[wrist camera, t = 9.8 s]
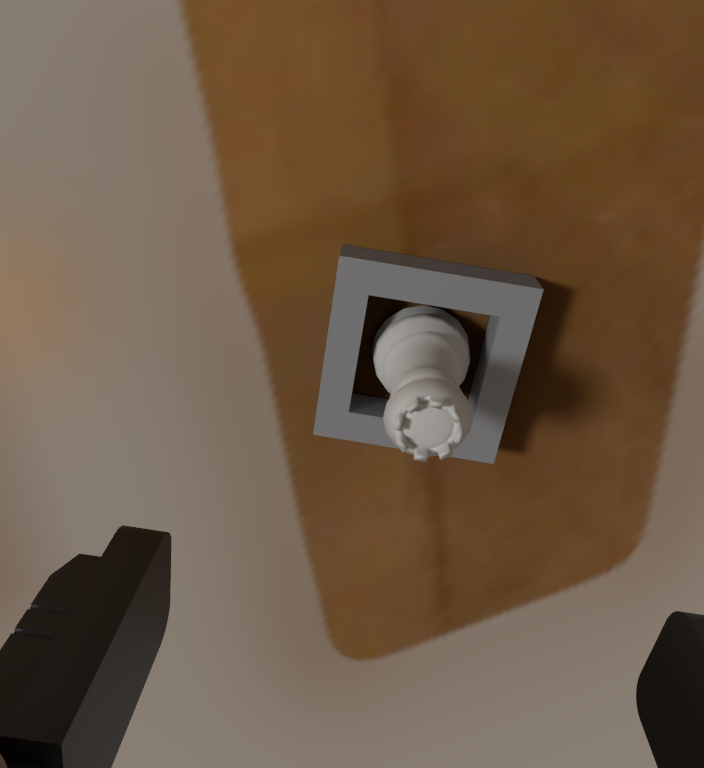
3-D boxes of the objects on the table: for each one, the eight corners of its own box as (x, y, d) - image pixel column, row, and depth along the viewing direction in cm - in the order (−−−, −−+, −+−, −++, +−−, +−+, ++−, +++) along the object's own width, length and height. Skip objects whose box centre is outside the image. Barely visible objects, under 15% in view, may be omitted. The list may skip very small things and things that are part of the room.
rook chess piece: (442, 404, 32) (457, 501, 24) (357, 370, 31) (346, 458, 24) (486, 324, 30) (516, 403, 23) (396, 286, 29) (397, 354, 22)
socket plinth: (342, 244, 29) (339, 255, 27) (534, 276, 29) (543, 289, 27) (317, 414, 32) (312, 434, 30) (487, 442, 32) (493, 463, 31)
